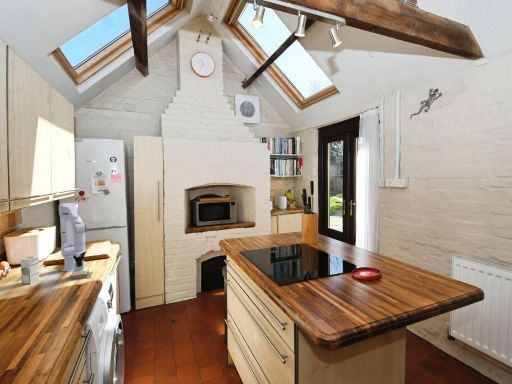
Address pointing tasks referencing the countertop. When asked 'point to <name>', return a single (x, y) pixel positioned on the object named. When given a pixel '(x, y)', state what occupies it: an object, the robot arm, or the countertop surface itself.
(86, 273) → the walnut slab
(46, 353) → the countertop surface
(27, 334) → the countertop surface
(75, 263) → the teal cube
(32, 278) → the syrup box
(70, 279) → the slate mat
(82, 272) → the cream slab
